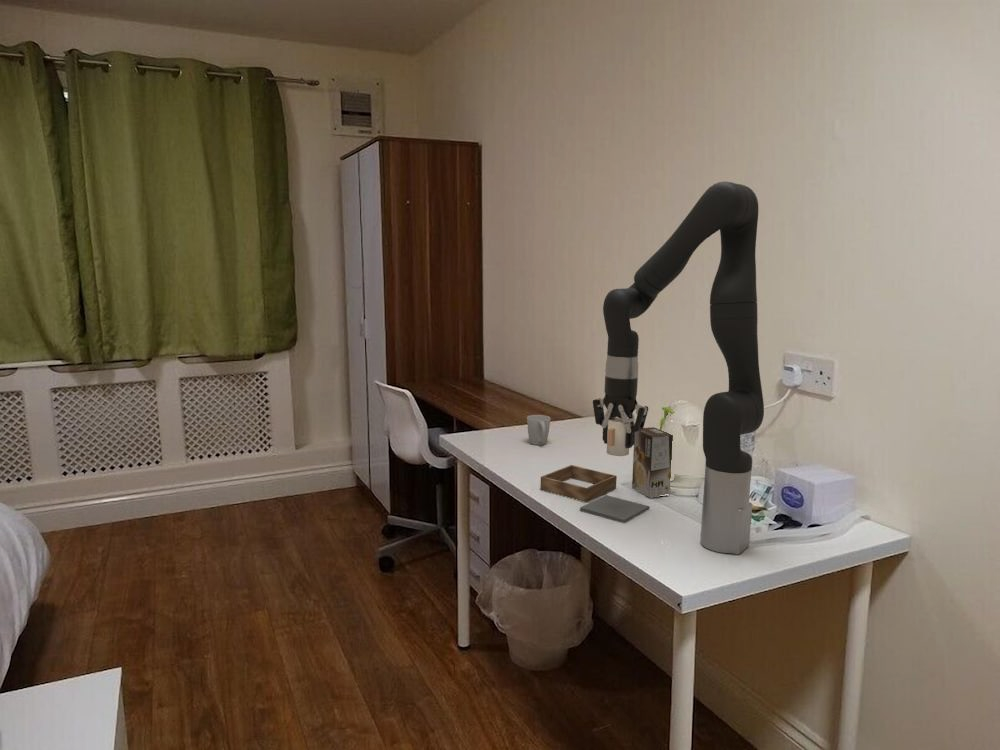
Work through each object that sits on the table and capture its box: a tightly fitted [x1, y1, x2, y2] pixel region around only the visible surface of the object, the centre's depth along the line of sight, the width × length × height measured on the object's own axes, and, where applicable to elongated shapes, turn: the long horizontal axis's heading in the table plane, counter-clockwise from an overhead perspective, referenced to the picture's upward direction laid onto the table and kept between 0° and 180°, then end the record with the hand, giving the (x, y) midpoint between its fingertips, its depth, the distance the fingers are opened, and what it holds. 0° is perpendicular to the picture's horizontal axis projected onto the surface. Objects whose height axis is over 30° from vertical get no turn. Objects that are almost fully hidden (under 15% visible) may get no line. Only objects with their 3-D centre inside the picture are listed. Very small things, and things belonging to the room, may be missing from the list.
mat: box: [579, 494, 650, 524], centre depth 171 cm, size 12×12×1 cm
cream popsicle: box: [606, 417, 630, 457], centre depth 168 cm, size 7×5×8 cm
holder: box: [539, 464, 617, 503], centre depth 186 cm, size 14×14×4 cm
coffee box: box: [631, 426, 673, 499], centre depth 184 cm, size 9×6×16 cm
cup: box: [526, 414, 551, 446], centre depth 229 cm, size 8×10×8 cm
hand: (618, 445), depth 169 cm, fingers closed on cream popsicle, 5 cm apart
